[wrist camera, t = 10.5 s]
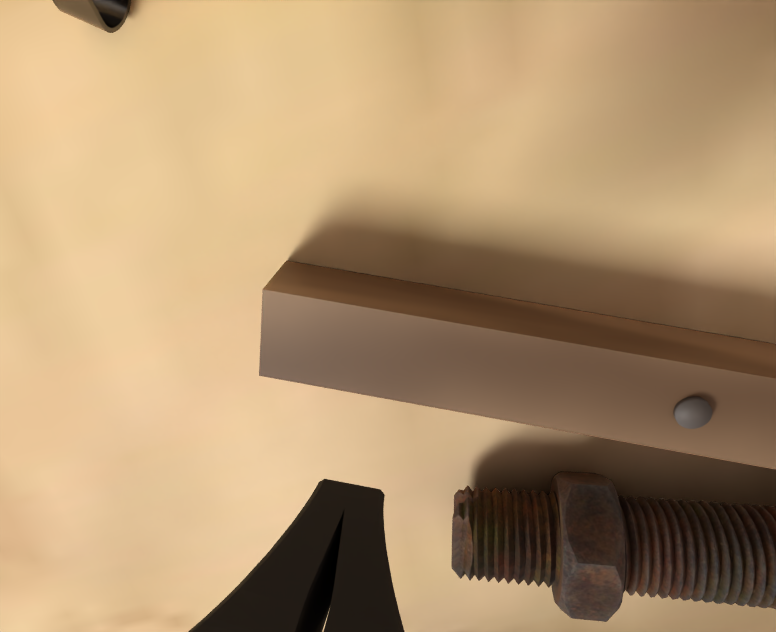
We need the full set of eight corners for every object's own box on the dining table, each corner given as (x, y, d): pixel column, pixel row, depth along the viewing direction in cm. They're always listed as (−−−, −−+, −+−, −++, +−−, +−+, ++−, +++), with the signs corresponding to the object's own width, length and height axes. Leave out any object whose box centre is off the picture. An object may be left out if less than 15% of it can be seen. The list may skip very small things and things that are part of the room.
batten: (1045, 475, 19) (1128, 537, 17) (281, 339, 21) (257, 379, 18) (1105, 400, 18) (1206, 456, 16) (286, 260, 19) (260, 291, 17)
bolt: (458, 448, 24) (863, 471, 22) (455, 573, 24) (867, 611, 21) (450, 474, 18) (1000, 509, 16) (446, 640, 18) (1010, 703, 16)
